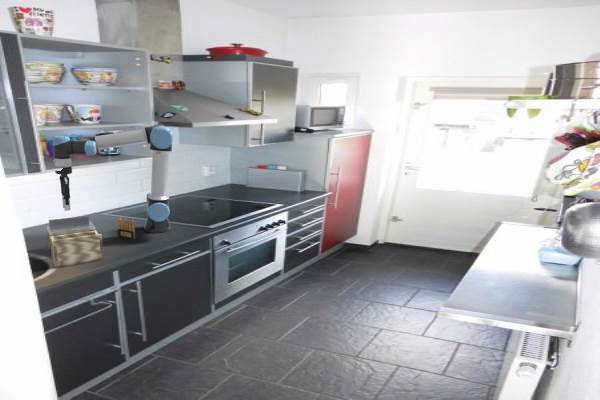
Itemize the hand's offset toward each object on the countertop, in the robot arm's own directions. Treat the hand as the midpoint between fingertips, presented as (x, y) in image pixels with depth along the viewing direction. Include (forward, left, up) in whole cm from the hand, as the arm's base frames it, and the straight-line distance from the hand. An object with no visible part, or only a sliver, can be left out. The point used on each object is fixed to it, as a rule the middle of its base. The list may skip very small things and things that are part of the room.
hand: (66, 208), depth 212 cm
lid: (0, +12, -7) cm, 14 cm away
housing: (0, +19, -19) cm, 27 cm away
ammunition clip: (-28, +7, -19) cm, 35 cm away
